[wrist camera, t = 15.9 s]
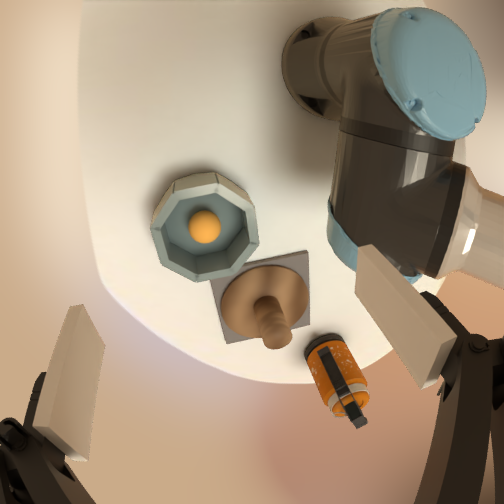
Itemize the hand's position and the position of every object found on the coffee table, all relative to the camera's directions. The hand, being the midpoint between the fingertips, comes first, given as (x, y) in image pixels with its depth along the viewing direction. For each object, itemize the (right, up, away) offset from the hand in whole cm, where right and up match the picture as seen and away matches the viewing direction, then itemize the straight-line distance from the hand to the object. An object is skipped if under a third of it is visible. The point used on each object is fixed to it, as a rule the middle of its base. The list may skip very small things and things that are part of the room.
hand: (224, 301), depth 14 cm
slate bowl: (-6, +7, +31) cm, 32 cm away
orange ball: (-5, +5, +28) cm, 29 cm away
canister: (+16, -17, +50) cm, 55 cm away
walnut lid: (+3, -6, +39) cm, 40 cm away
